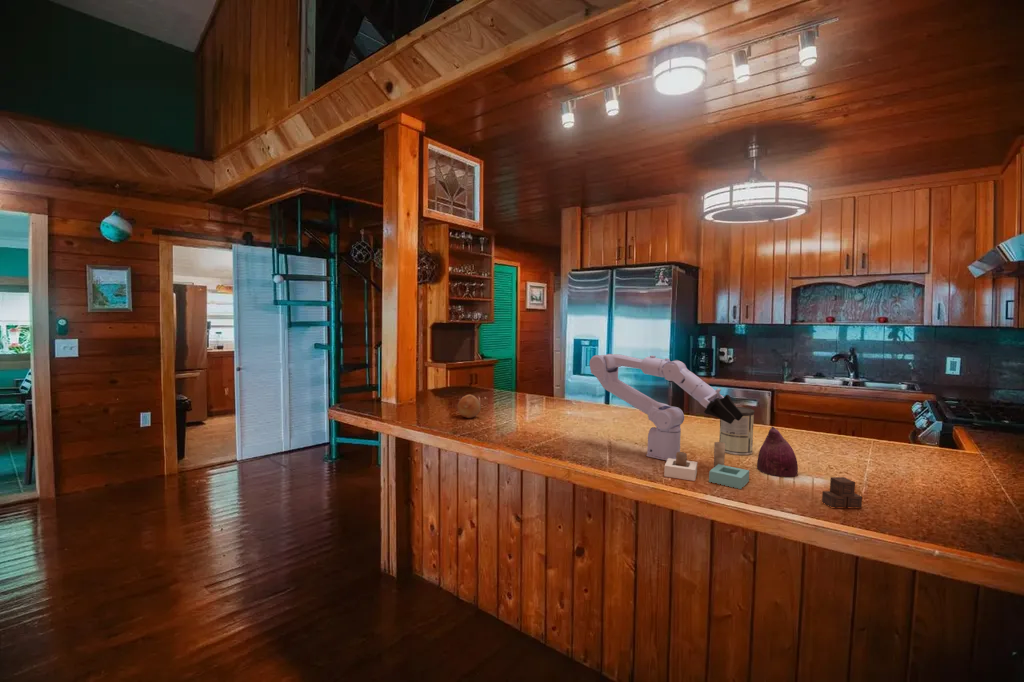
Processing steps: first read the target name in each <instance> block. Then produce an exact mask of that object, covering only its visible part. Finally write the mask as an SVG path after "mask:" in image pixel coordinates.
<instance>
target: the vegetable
mask: <svg viewBox="0 0 1024 682" xmlns="http://www.w3.org/2000/svg"><path fill="white" fill-rule="evenodd" d="M756 462H757V463H756V468H757V469H758V470H759V472H760V473H763V474H766V475H769V474H770V476H774V475H775V477H782V478H787V477H788V478H790V477H791V478H794V477H797V475H798V471H799V465H798V460H797V457H796V454H795V451H794V449H793V447H792V446H791V445H790V443H789V442H788V441H787V440H786V438H784V436H783V435H782V433H780V431H779V430H778V429H777V428H775V427H774V426H772V425H771V428H770V429H768V433H767V435H766V437H765V440H764V441H763V443H762V445H761V446H760V448H759V451H758V455H757V461H756Z"/></svg>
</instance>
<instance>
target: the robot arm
mask: <svg viewBox="0 0 1024 682" xmlns="http://www.w3.org/2000/svg"><path fill="white" fill-rule="evenodd" d="M620 367H624V368H632V369H638V370H641V371H642V373H643V374H644V375H648V376H654V377H659V378H664V380H666V381H669V382H673V383H675V384H676V385H677V386H678V387H680V388H681V389H682V390H683V391H684V392H686V393H687V394H688V395H690V396H691V397H692V398H693V399H694V400H696V401H697V402H698V403H699V404H700V405H701V406H702V407H703V408H705V410H704V411H703V413H705V415H706V414H707V415H710V416H712V417H715V418H718V419H719V420H720V419H722V420H723V421H725V422H727V423H729V424H731V423H732V422H733V421H734V420H735V419H736V420H738V421H739V420H740V419H741V418H742V417H743V414H742V413H741V412H740V410H739V409H738V408H737V407H738V406H736V404H735V403H734V402H733V400H732V397H731V396H730V395H729V394H726V395H725V396H723V395H722V394H721V393H720V392H721V391H722V388H720V387H718V388H717V389H715V388H713V387H712V386H710V384H708V383H707V382H705V380H703V379H701V378H700V377H699V376H698V375H696V374H695V373H694V372H692V371H690V370H689V369H688V368H687V365H686V363H684V362H683V361H680V360H678V359H674V360H672V361H671V360H670V358H669V357H667V358H665V359H664V358H658V357H656V355H654V354H653V355H649V356H646V357H644V358H643V359H642V358H638V357H634V356H628V355H624V354H617V353H616V354H613V353H607V354H601V355H600V354H595V355H593V356H592V357H591V358H590V359H589V368H590V374H591V375H594V377H596V379H597V380H598V382H599V383H600V385H601V386H602V388H603V389H604V390H606V391H607V392H608V393H611V394H613V395H614V396H615V397H617V398H619V399H620V400H622V401H624V402H625V403H627V404H628V405H630V406H632V407H634V408H635V409H637V410H639V411H641V412H642V413H644V414H646V415H647V418H648V420H649V421H651V422H652V423H653V424H654V425H655V427H654V426H653V427H650V429H649V430H648V433H647V434H648V435H647V451H646V452H647V453H646V457H649V458H653V459H658V460H662V461H663V460H664V461H667V459H668V458H672V459H676V453H677V452H681V433H682V432H681V431H682V429H681V425H682V424H683V423H684V421H685V414H684V412H683V410H682V409H681V408H680V407H677V406H672V405H669V404H667V403H663V402H659V401H657V400H655V399H654V398H653V397H652V398H651V397H650V396H648V395H646V394H644V393H643V392H641V391H639V390H638V389H636V388H634V387H632V386H630V385H629V384H627V383H625V382H623V381H622V380H621V379H619V368H620Z"/></svg>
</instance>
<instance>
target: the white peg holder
mask: <svg viewBox="0 0 1024 682" xmlns="http://www.w3.org/2000/svg"><path fill="white" fill-rule="evenodd" d="M663 472H664V473H663V474H664V476H663V477H664V478H672V479H680V480H685V481H686V480H687V481H691V482H692V481H693V482H695V481H696V477H697V473H698V461H692V460H687V463H686V467H684V466H676V459H672V458H668V459H667V460H666V462H665V464H664V471H663Z"/></svg>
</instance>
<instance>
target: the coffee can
mask: <svg viewBox="0 0 1024 682" xmlns="http://www.w3.org/2000/svg"><path fill="white" fill-rule="evenodd" d="M736 407H737V408H738V409H739V410H740V412H741V413H742V414H743V417H742V418H741V419H740V420H739V421H738V420H736V419H735V420H734V421H733V422H732V423H731V424H729V423H727V422H725V421H723V420H722V419H720V418H719V441H718V442H722V443H725V454H730V455H735V456H736V455H737V456H749V455H752V454H753V441H754V440H753V439H754V438H753V437H754V422H755V421H754V418H755V415H754V414H755V410H754V409H752V408H747V407H742V406H736Z"/></svg>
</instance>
